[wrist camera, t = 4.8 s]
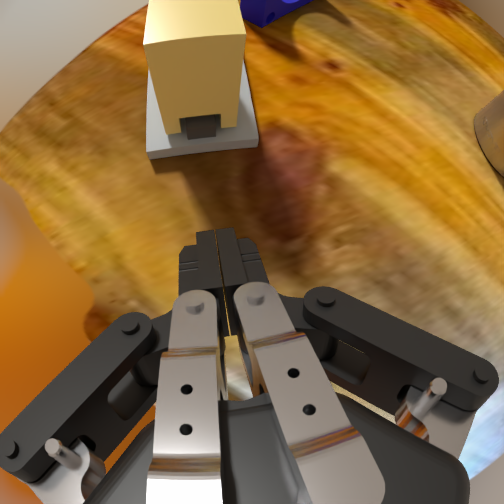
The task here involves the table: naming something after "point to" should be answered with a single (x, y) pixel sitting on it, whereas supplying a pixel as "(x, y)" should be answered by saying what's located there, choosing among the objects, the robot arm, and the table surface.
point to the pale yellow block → (195, 59)
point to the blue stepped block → (268, 10)
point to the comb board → (224, 134)
